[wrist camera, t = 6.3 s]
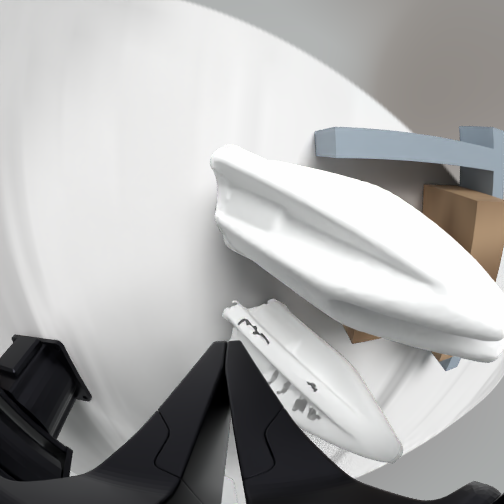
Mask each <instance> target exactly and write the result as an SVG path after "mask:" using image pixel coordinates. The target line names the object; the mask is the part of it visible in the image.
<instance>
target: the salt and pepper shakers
mask: <svg viewBox="0 0 504 504" xmlns="http://www.w3.org/2000/svg"><path fill="white" fill-rule="evenodd" d="M210 166H211V168H212V169H213V171H214V173H215V176H216V180H217V197H218V199H217V206H216V209H215V210H216V212H215V220H216V223H217V225H218V227H219V230H220V231H221V232H222V234H223V239H224V243H225V244H226V246H227V247H228V248H229V249H231V250H233V251H234V252H236V253H238V254H241V255H242V256H244V257H246V258H250V259H251V260H252V261H254V262H255V263H257V264H258V265H259V266H260V267H262V268H263V269H264V270H266V271H267V272H269V273H270V274H271V275H272V276H274V277H275V278H277V279H278V280H279V281H281V282H282V283H283V284H285V285H286V286H288V287H289V288H290V289H292V290H293V291H294V292H296V293H297V294H298V295H300V296H301V297H303V298H304V299H305V300H307V301H308V302H310V303H311V304H312V305H314V306H315V307H317V308H318V309H319V310H321V311H322V312H324V313H325V314H327V315H328V316H330V317H331V318H333V319H335V320H336V321H338V322H340V323H342V324H343V325H345V326H348V327H350V328H353V329H355V330H358V331H361V332H365V333H368V334H371V335H374V336H377V337H381V338H384V339H388V340H391V341H394V342H398V343H402V344H405V345H408V346H412V347H415V348H419V349H424V350H428V351H432V352H436V353H440V354H445V355H450V356H455V357H459V358H463V359H468V360H473V361H477V362H485V363H489V362H493V361H495V360H496V359H497V358H498V357H499V356H500V354H501V353H502V351H503V348H504V294H503V292H502V291H501V290H500V288H499V287H498V286H497V284H496V283H495V282H494V280H493V279H492V278H491V277H490V276H489V274H488V273H487V272H486V271H485V270H484V269H483V267H482V266H481V265H480V264H479V263H478V262H477V261H476V260H475V259H474V258H473V257H472V256H471V255H470V254H469V253H468V252H467V251H466V250H465V249H464V248H463V247H462V246H461V245H460V244H459V243H458V242H457V241H456V240H454V239H453V238H452V237H451V236H450V235H448V234H447V233H446V232H445V231H444V230H443V229H441V228H440V227H439V226H438V225H437V224H436V223H434V222H433V221H432V220H430V219H429V218H428V217H426V216H425V215H424V214H422V213H421V212H420V211H418V210H417V209H415V208H414V207H413V206H411V205H410V204H408V203H407V202H405V201H403V200H402V199H401V198H399V197H398V196H396V195H394V194H392V193H391V192H389V191H387V190H384V189H382V188H380V187H378V186H376V185H373V184H370V183H368V182H363V181H360V180H358V179H354V178H350V177H346V176H343V175H339V174H336V173H331V172H327V171H323V170H319V169H315V168H310V167H305V166H300V165H296V164H291V163H286V162H282V161H277V160H272V161H269V160H267V159H265V158H263V157H260V156H258V155H255V154H253V153H251V152H249V151H246V150H245V149H243V148H240V147H239V146H235V145H232V144H226V145H225V146H223V147H221V148H220V149H218V150H216V151H215V152H214V153H213V155H212V157H211V159H210ZM232 302H236V303H238V304H237V305H236V306H235V305H234V306H233V307H231V308H229V307H228V308H227V309H226V308H225V310H224V312H223V314H222V315H223V318H225V319H227V320H228V321H229V322H231V323H232V324H233V325H234V328H233V329H232V338H231V339H230V340H229V341H234V340H240V341H241V342H242V343H243V345H244V346H245V348H246V350H247V351H248V353H249V354H250V356H251V358H252V359H253V361H254V362H255V364H256V365H257V367H258V369H259V370H260V372H261V373H262V375H263V376H264V378H265V379H266V381H267V382H268V384H269V385H270V387H271V388H272V390H273V391H274V393H275V394H276V396H277V397H278V399H279V400H280V402H281V403H282V405H283V406H284V408H285V409H286V410H287V412H288V413H289V415H290V416H291V417H292V419H293V420H294V421H295V423H296V424H297V425H298V427H299V428H301V429H303V430H305V431H307V432H309V433H310V434H312V435H314V436H316V437H318V438H320V439H322V440H324V441H326V442H328V443H330V444H333V445H335V446H337V447H339V448H342V449H344V450H347V451H349V452H352V453H355V454H357V455H360V456H362V457H365V458H369V459H372V460H376V461H380V462H388V463H394V462H396V461H397V460H398V459H399V458H400V457H401V455H402V453H403V446H402V444H401V442H400V441H399V439H398V437H397V436H396V434H395V432H394V430H393V429H392V427H391V425H390V424H389V422H388V420H387V419H386V417H385V415H384V414H383V412H382V410H381V408H380V407H379V405H378V404H377V402H376V400H375V399H374V397H373V395H372V394H371V392H370V390H369V389H368V387H367V385H366V384H365V382H364V380H363V379H362V377H361V376H360V374H359V373H358V372H357V370H356V369H355V368H354V367H353V366H352V365H351V364H350V362H349V361H348V360H347V359H345V358H344V357H343V356H342V355H341V354H340V353H339V352H338V351H336V350H335V349H334V348H333V347H332V346H330V345H329V344H328V343H327V342H326V341H324V340H323V339H322V338H321V337H320V336H318V335H317V334H316V333H315V332H314V331H313V330H311V329H310V328H309V327H308V326H307V325H305V324H304V323H303V322H302V321H300V320H299V319H298V318H297V317H296V316H295V315H294V314H293V313H292V312H291V311H289V310H288V307H287V305H285V304H283V303H282V302H280V301H278V300H277V301H276V299H270V300H268V303H267V304H264V303H263V305H260V306H257V307H254V308H249V309H247V308H245V307H244V306H242V305H241V304H240V303H239V302H238V300H236V301H235V300H234V301H232ZM243 318H245V319H248V320H249V322H250V323H251V324H252V325H253V326H256V327H257V331H258V332H259V334H261V333H263V334H264V335H265V337H266V338H267V339H268V340H269V342H270V343H269V344H268V343H267V342H266V339H264V338H263V337H262V336H261V335H258V334H256V335H254V334H253V332H255V330H254V328H253V327H252V326H251V325H247V324H246V321H245V320H244V322H242V323H241V324H240V325H238V322H239V321H241V320H242V319H243ZM227 343H228V342H227Z"/></svg>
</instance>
